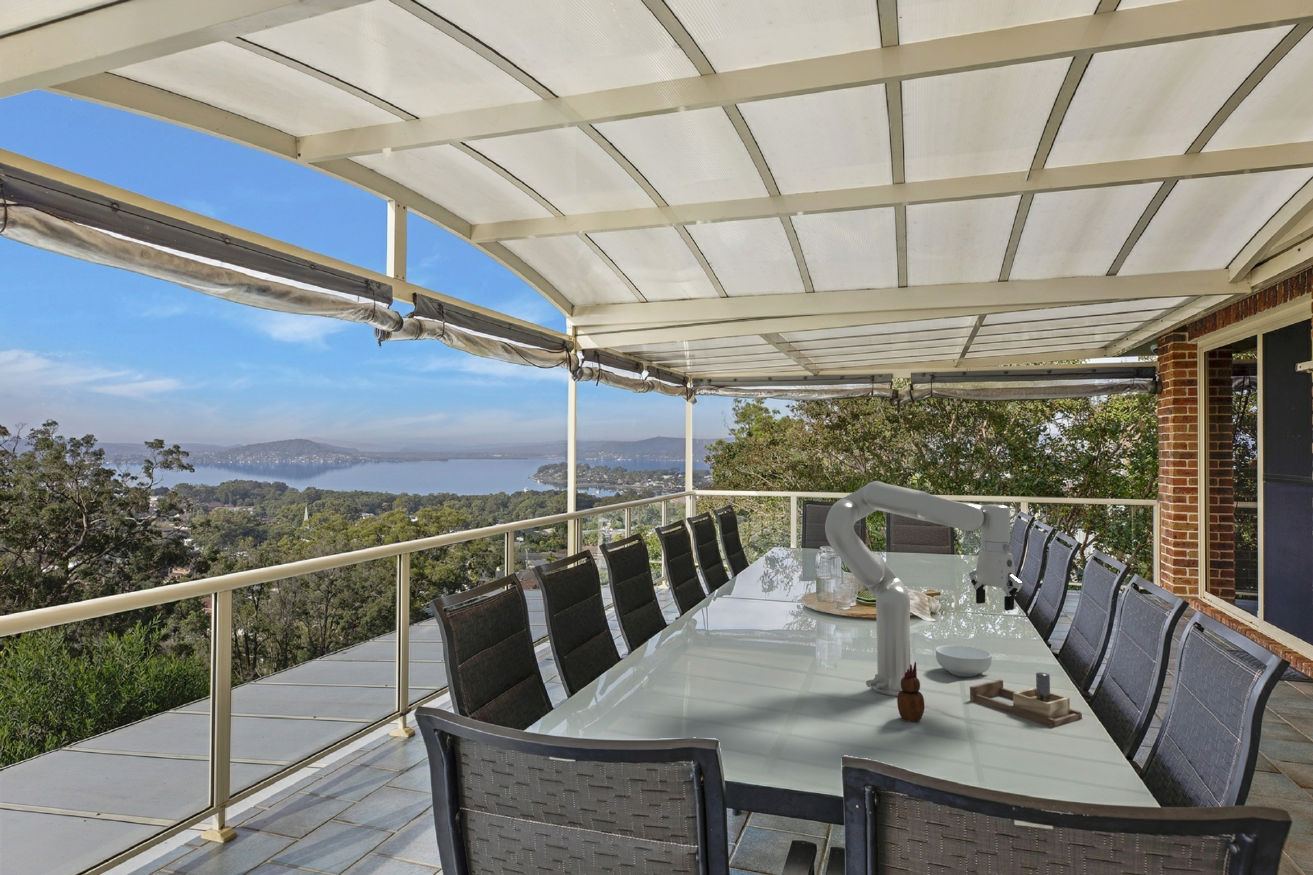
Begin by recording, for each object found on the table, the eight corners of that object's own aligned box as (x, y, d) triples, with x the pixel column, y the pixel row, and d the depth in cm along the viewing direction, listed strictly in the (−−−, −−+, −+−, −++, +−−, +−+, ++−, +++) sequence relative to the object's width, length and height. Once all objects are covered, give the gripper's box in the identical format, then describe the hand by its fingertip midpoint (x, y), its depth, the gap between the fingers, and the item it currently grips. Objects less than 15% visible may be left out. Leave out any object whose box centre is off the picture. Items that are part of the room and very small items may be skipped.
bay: (1051, 732, 186) (1050, 712, 186) (970, 704, 207) (969, 686, 207) (1082, 723, 192) (1081, 703, 192) (1000, 697, 213) (1000, 679, 213)
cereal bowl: (998, 682, 227) (997, 659, 227) (941, 680, 230) (940, 657, 230) (985, 667, 243) (984, 645, 244) (932, 664, 247) (931, 643, 247)
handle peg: (1045, 715, 193) (1044, 676, 193) (1034, 711, 195) (1033, 673, 196) (1053, 713, 194) (1052, 674, 194) (1041, 709, 197) (1040, 671, 197)
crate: (1048, 723, 189) (1048, 704, 189) (1013, 711, 197) (1012, 693, 198) (1069, 717, 193) (1069, 698, 193) (1034, 706, 202) (1034, 687, 202)
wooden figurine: (919, 715, 199) (918, 659, 199) (927, 723, 193) (926, 665, 193) (894, 716, 198) (893, 660, 199) (902, 723, 193) (901, 666, 193)
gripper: (1030, 550, 207) (1030, 611, 207) (979, 543, 223) (978, 599, 223) (1012, 551, 204) (1011, 613, 204) (961, 544, 220) (961, 601, 219)
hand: (994, 606), depth 213 cm, fingers open, 9 cm apart
